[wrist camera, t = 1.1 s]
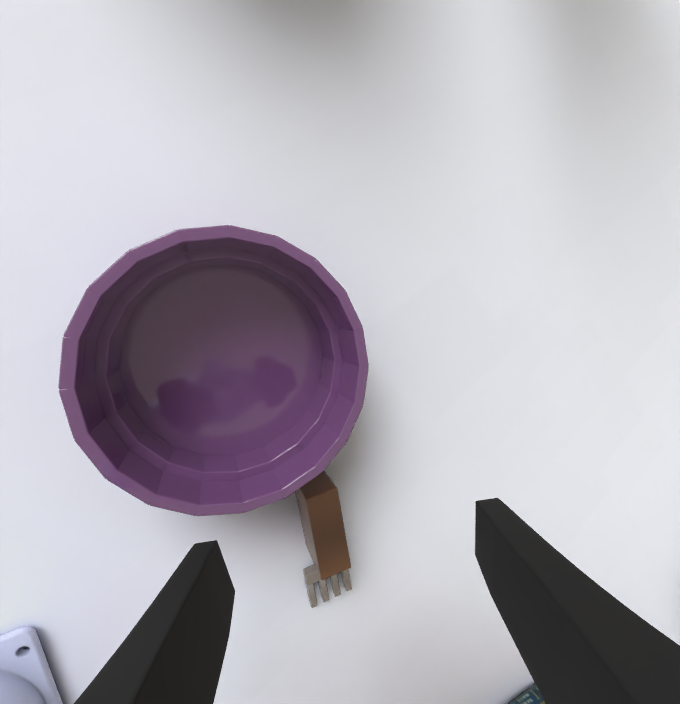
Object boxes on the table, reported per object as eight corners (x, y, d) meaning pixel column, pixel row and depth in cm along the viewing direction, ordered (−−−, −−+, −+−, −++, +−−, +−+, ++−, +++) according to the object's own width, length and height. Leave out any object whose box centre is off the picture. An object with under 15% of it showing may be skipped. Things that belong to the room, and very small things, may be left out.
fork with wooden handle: (283, 475, 21) (296, 502, 18) (327, 461, 22) (345, 484, 19) (309, 602, 22) (325, 647, 19) (349, 583, 23) (369, 623, 20)
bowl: (346, 431, 22) (383, 463, 17) (136, 497, 18) (111, 561, 13) (314, 238, 20) (346, 214, 15) (69, 263, 16) (11, 242, 11)
